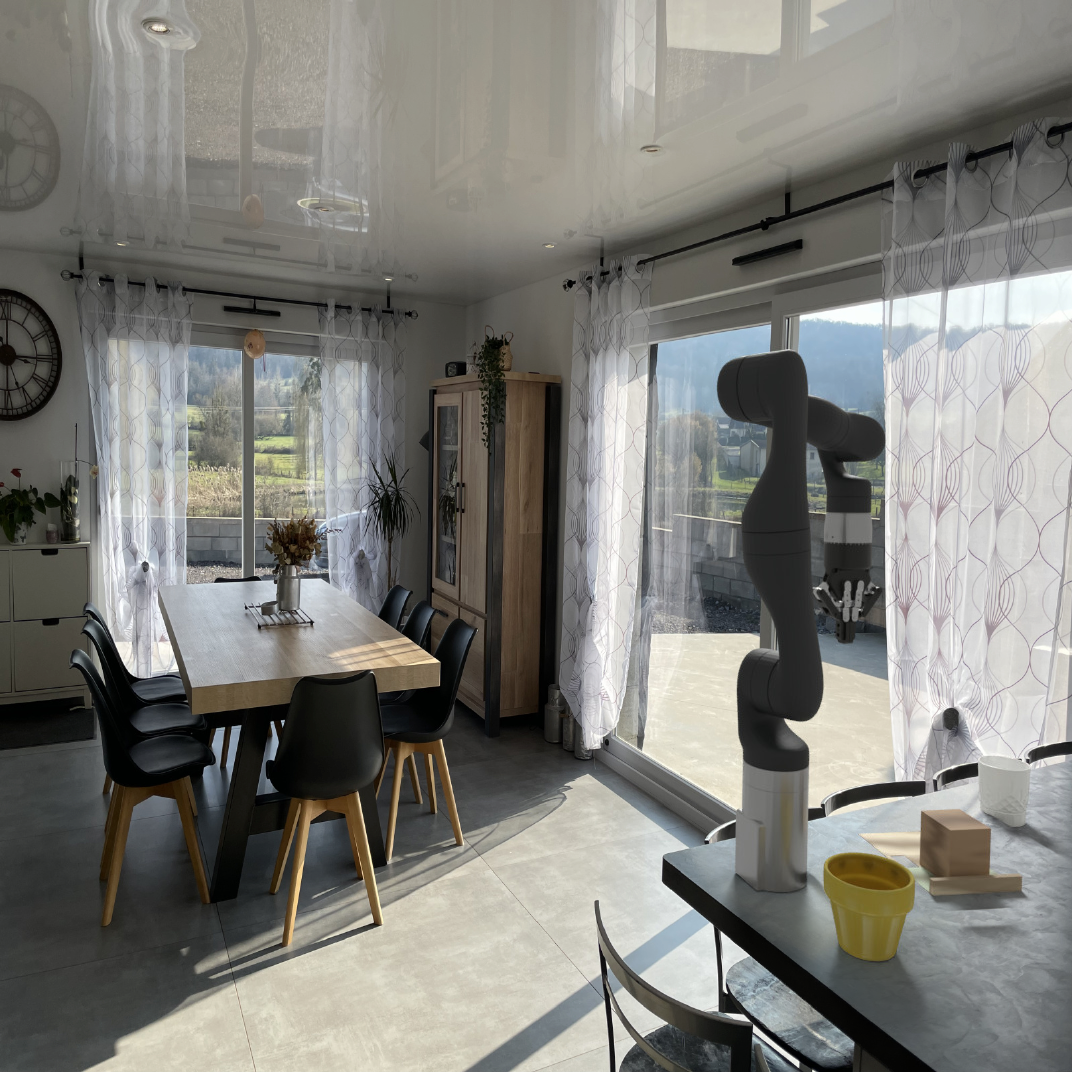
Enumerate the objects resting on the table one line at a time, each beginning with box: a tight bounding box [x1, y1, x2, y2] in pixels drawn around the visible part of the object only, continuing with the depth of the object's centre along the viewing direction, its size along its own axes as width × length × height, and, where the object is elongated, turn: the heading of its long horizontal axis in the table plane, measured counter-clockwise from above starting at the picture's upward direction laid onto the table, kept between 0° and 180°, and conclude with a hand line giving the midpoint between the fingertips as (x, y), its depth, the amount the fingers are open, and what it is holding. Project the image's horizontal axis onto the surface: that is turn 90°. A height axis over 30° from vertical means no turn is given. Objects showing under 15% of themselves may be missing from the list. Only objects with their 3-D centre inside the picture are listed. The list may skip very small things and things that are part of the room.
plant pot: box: [822, 851, 916, 962], centre depth 100 cm, size 10×10×10 cm
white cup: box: [977, 755, 1032, 828], centre depth 139 cm, size 8×8×10 cm
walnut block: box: [919, 808, 992, 878], centre depth 116 cm, size 7×6×8 cm
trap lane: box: [858, 830, 1023, 897], centre depth 120 cm, size 20×13×4 cm, turn 6°
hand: (845, 642), depth 136 cm, fingers closed
